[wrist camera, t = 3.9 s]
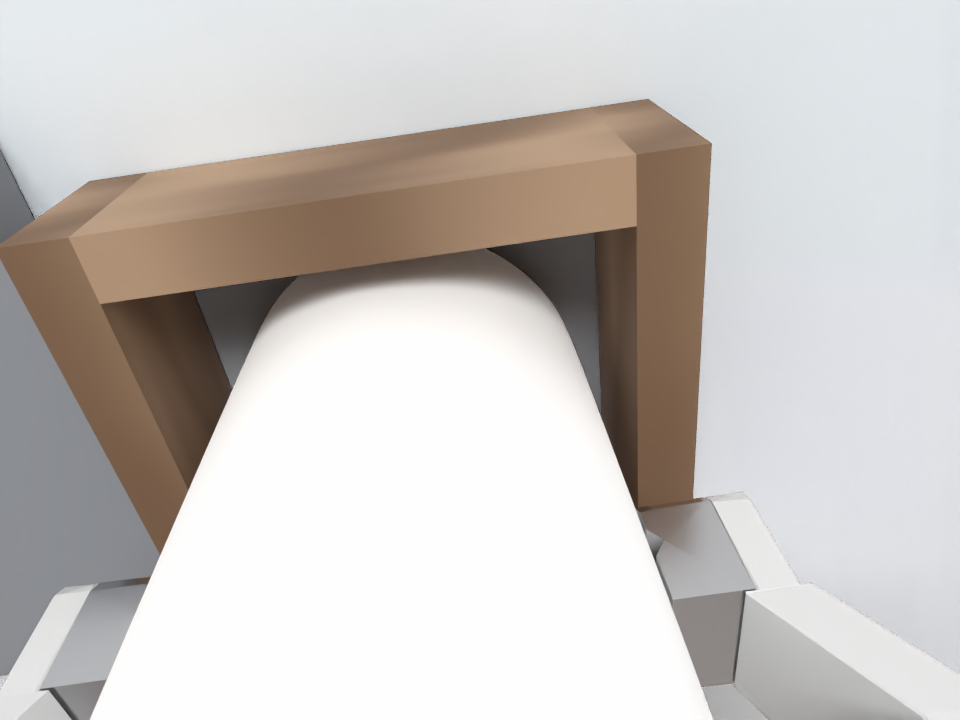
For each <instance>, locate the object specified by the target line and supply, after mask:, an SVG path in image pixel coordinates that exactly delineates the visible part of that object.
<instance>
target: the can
mask: <svg viewBox="0 0 960 720" xmlns="http://www.w3.org/2000/svg"><path fill="white" fill-rule="evenodd" d="M90 720H713V718H712V715H711V712H710V709H709V707H708V704H707V701H706V699H705V696H704V693H703V690H702V688H701V685H700V682H699V680H698V677H697V674H696V671H695V669H694V666H693V663H692V661H691V658H690V655H689V652H688V650H687V647H686V644H685V642H684V639H683V636H682V633H681V631H680V628H679V625H678V622H677V620H676V617H675V614H674V612H673V609H672V606H671V604H670V601H669V598H668V596H667V593H666V590H665V587H664V585H663V582H662V579H661V577H660V574H659V571H658V569H657V566H656V563H655V560H654V558H653V555H652V552H651V550H650V547H649V544H648V542H647V539H646V536H645V534H644V531H643V528H642V525H641V523H640V520H639V517H638V515H637V512H636V509H635V507H634V504H633V501H632V499H631V496H630V493H629V491H628V488H627V485H626V482H625V480H624V477H623V474H622V472H621V469H620V466H619V464H618V461H617V458H616V456H615V453H614V450H613V448H612V445H611V442H610V440H609V437H608V434H607V432H606V429H605V426H604V424H603V421H602V418H601V416H600V413H599V410H598V408H597V405H596V403H595V400H594V397H593V395H592V392H591V389H590V387H589V384H588V381H587V379H586V376H585V373H584V371H583V368H582V366H581V363H580V361H579V358H578V355H577V353H576V350H575V348H574V345H573V343H572V340H571V338H570V336H569V333H568V331H567V329H566V326H565V324H564V322H563V320H562V319H561V317H560V315H559V313H558V311H557V310H556V308H555V307H554V305H553V304H552V302H551V301H550V299H549V298H548V297H547V296H546V294H545V293H544V292H543V291H542V290H541V289H540V287H539V286H538V285H537V284H536V283H535V282H534V281H532V280H531V279H530V278H529V277H528V276H527V275H526V274H524V273H523V272H522V271H521V270H519V269H518V268H517V267H515V266H514V265H512V264H511V263H510V262H508V261H507V260H505V259H503V258H502V257H500V256H498V255H497V254H495V253H493V252H491V251H488V250H486V249H484V248H483V249H476V250H469V251H462V252H456V253H449V254H442V255H435V256H428V257H421V258H414V259H407V260H400V261H394V262H387V263H380V264H373V265H366V266H359V267H352V268H345V269H339V270H332V271H325V272H318V273H311V274H304V275H300V276H299V277H297V278H296V279H295V280H294V281H293V282H292V283H291V284H290V285H289V286H288V287H287V288H286V289H285V290H284V292H283V293H282V294H281V295H280V297H279V298H278V299H277V301H276V302H275V303H274V305H273V306H272V308H271V310H270V311H269V313H268V314H267V316H266V318H265V320H264V322H263V324H262V326H261V328H260V330H259V332H258V334H257V336H256V338H255V340H254V342H253V345H252V347H251V349H250V351H249V354H248V356H247V358H246V360H245V362H244V365H243V367H242V369H241V371H240V374H239V376H238V378H237V380H236V383H235V385H234V387H233V390H232V392H231V394H230V396H229V399H228V401H227V403H226V405H225V408H224V410H223V412H222V415H221V417H220V419H219V421H218V424H217V426H216V428H215V431H214V433H213V435H212V437H211V440H210V442H209V444H208V447H207V449H206V451H205V454H204V456H203V458H202V460H201V463H200V465H199V467H198V470H197V472H196V474H195V477H194V479H193V481H192V483H191V486H190V488H189V490H188V493H187V495H186V497H185V500H184V502H183V504H182V506H181V509H180V511H179V513H178V516H177V518H176V520H175V523H174V525H173V527H172V530H171V532H170V534H169V536H168V539H167V541H166V543H165V546H164V548H163V550H162V553H161V555H160V557H159V560H158V562H157V564H156V567H155V569H154V571H153V574H152V576H151V578H150V580H149V583H148V585H147V587H146V590H145V592H144V594H143V597H142V599H141V601H140V604H139V606H138V608H137V611H136V613H135V615H134V618H133V620H132V622H131V624H130V627H129V629H128V631H127V634H126V636H125V638H124V641H123V643H122V645H121V648H120V650H119V652H118V655H117V657H116V659H115V662H114V664H113V666H112V669H111V671H110V673H109V676H108V678H107V680H106V683H105V685H104V687H103V690H102V692H101V694H100V697H99V699H98V701H97V704H96V706H95V708H94V711H93V713H92V715H91V718H90Z"/></svg>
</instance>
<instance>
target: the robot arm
mask: <svg viewBox="0 0 960 720" xmlns="http://www.w3.org/2000/svg"><path fill="white" fill-rule="evenodd" d="M635 509H636V512H637V515H638V517H639V520H640V523H641V525H642V528H643V531H644V534H645V536H646V539H647V542H648V544H649V547H650V550H651V552H652V555H653V558H654V560H655V563H656V566H657V569H658V571H659V574H660V577H661V579H662V582H663V585H664V587H665V590H666V593H667V596H668V598H669V601H670V604H671V606H672V609H673V612H674V614H675V617H676V620H677V622H678V625H679V628H680V631H681V633H682V636H683V639H684V642H685V644H686V647H687V650H688V652H689V655H690V658H691V661H692V663H693V666H694V669H695V671H696V674H697V677H698V680H699V682H700V685H701V687H704V686H713V685H722V684H731V683H735V684H734V687H735V688H736V689H737V690H738V691H739V692H740V693H742V694H743V695H744V696H745V697H746V698H747V699H748V700H749V701H750V702H751V703H752V704H753V705H754V706H755V707H756V708H757V709H758V710H759V711H761V712H762V713H763V714H764V715H765V716H766V717H767V718H768V719H769V720H960V674H958V673H957V672H955V671H953V670H952V669H950V668H949V667H947V666H945V665H944V664H942V663H940V662H939V661H937V660H936V659H934V658H932V657H931V656H929V655H928V654H926V653H924V652H923V651H921V650H920V649H918V648H916V647H915V646H913V645H911V644H910V643H908V642H907V641H905V640H903V639H902V638H900V637H899V636H897V635H895V634H894V633H892V632H890V631H889V630H887V629H886V628H884V627H882V626H881V625H879V624H878V623H876V622H874V621H873V620H871V619H870V618H868V617H866V616H865V615H863V614H861V613H860V612H858V611H857V610H855V609H853V608H852V607H850V606H849V605H847V604H845V603H844V602H842V601H841V600H839V599H837V598H836V597H834V596H832V595H831V594H829V593H828V592H826V591H824V590H823V589H821V588H820V587H818V586H816V585H815V584H813V583H805V584H800V582H799V581H798V579H797V577H796V576H795V574H794V572H793V571H792V569H791V567H790V566H789V564H788V562H787V561H786V559H785V557H784V555H783V554H782V552H781V550H780V549H779V547H778V545H777V544H776V542H775V540H774V539H773V537H772V535H771V534H770V532H769V530H768V529H767V527H766V525H765V524H764V522H763V520H762V518H761V517H760V515H759V513H758V512H757V510H756V508H755V507H754V505H753V503H752V502H751V500H750V498H749V497H748V496H747V495H746V494H744V493H743V492H737V493H730V494H723V495H717V496H710V497H706V498H696V499H690V500H683V501H677V502H670V503H664V504H657V505H650V506H644V507H637V508H635ZM150 578H151V577H144V578H135V579H126V580H118V581H109V582H101V583H97V584H89V585H80V586H72V587H65V588H64V589H62V590H61V591H60V592H59V593H57V594H56V595H55V596H54V597H53V599H52V600H51V602H50V604H49V606H48V607H47V609H46V611H45V612H44V614H43V616H42V618H41V619H40V621H39V623H38V625H37V626H36V628H35V630H34V632H33V633H32V635H31V637H30V638H29V640H28V642H27V644H26V645H25V647H24V649H23V651H22V652H21V654H20V656H19V658H18V659H17V661H16V663H15V664H14V666H13V668H12V670H11V671H10V673H9V675H8V677H7V678H6V680H5V682H4V684H3V685H2V687H1V689H0V720H90V718H91V715H92V713H93V711H94V708H95V706H96V704H97V701H98V699H99V697H100V694H101V692H102V690H103V687H104V685H105V683H106V680H107V678H108V676H109V673H110V671H111V669H112V666H113V664H114V662H115V659H116V657H117V655H118V652H119V650H120V648H121V645H122V643H123V641H124V638H125V636H126V634H127V631H128V629H129V627H130V624H131V622H132V620H133V618H134V615H135V613H136V611H137V608H138V606H139V604H140V601H141V599H142V597H143V594H144V592H145V590H146V587H147V585H148V583H149V580H150Z"/></svg>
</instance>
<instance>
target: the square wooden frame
mask: <svg viewBox="0 0 960 720" xmlns="http://www.w3.org/2000/svg"><path fill="white" fill-rule="evenodd" d="M711 148H712V143H710V142H709V141H708V140H706V139H705V138H703V137H702V136H700V135H699V134H698V133H696V132H695V131H693V130H692V129H690V128H689V127H688V126H686V125H685V124H683V123H682V122H680V121H679V120H678V119H676V118H675V117H673V116H672V115H670V114H669V113H668V112H666V111H665V110H663V109H662V108H660V107H659V106H657V105H656V104H655V103H653V102H652V101H650V100H649V99H645V100H639V101H632V102H625V103H618V104H611V105H605V106H598V107H591V108H584V109H577V110H571V111H564V112H557V113H550V114H543V115H537V116H530V117H523V118H516V119H509V120H503V121H496V122H489V123H482V124H475V125H469V126H462V127H455V128H448V129H441V130H434V131H428V132H421V133H414V134H407V135H400V136H394V137H387V138H380V139H373V140H366V141H360V142H353V143H346V144H339V145H332V146H326V147H319V148H312V149H305V150H298V151H292V152H285V153H278V154H271V155H264V156H258V157H251V158H244V159H237V160H230V161H223V162H217V163H210V164H203V165H196V166H189V167H183V168H176V169H169V170H162V171H155V172H149V173H142V174H135V175H128V176H121V177H115V178H108V179H101V180H94V181H89V182H88V183H86V184H85V185H83V186H82V187H81V188H79V189H78V190H76V191H75V192H74V193H72V194H71V195H69V196H68V197H66V198H65V199H64V200H62V201H61V202H59V203H58V204H57V205H55V206H54V207H52V208H51V209H49V210H48V211H47V212H45V213H44V214H42V215H41V216H39V217H38V218H37V219H35V220H34V221H32V222H31V223H30V224H28V225H27V226H25V227H24V228H22V229H21V230H20V231H18V232H17V233H15V234H14V235H13V236H11V237H10V238H8V239H7V240H5V241H4V242H3V243H1V244H0V260H1V262H2V263H3V265H4V267H5V269H6V271H7V273H8V275H9V276H10V278H11V280H12V282H13V284H14V286H15V287H16V289H17V291H18V293H19V295H20V297H21V299H22V300H23V302H24V304H25V306H26V308H27V310H28V311H29V313H30V315H31V317H32V319H33V321H34V323H35V324H36V326H37V328H38V330H39V332H40V334H41V336H42V337H43V339H44V341H45V343H46V345H47V347H48V348H49V350H50V352H51V354H52V356H53V358H54V360H55V361H56V363H57V365H58V367H59V369H60V371H61V373H62V374H63V376H64V378H65V380H66V382H67V384H68V385H69V387H70V389H71V391H72V393H73V395H74V397H75V398H76V400H77V402H78V404H79V406H80V408H81V410H82V411H83V413H84V415H85V417H86V419H87V421H88V422H89V424H90V426H91V428H92V430H93V432H94V434H95V435H96V437H97V439H98V441H99V443H100V445H101V446H102V448H103V450H104V452H105V454H106V456H107V458H108V459H109V461H110V463H111V465H112V467H113V469H114V471H115V472H116V474H117V476H118V478H119V480H120V482H121V483H122V485H123V487H124V489H125V491H126V493H127V495H128V496H129V498H130V500H131V502H132V504H133V506H134V508H135V509H136V511H137V513H138V515H139V517H140V519H141V520H142V522H143V524H144V526H145V528H146V530H147V532H148V533H149V535H150V537H151V539H152V541H153V543H154V545H155V546H156V548H157V550H158V552H159V554H160V555H161V553H162V550H163V548H164V546H165V543H166V541H167V539H168V536H169V534H170V532H171V530H172V527H173V525H174V523H175V520H176V518H177V516H178V513H179V511H180V509H181V506H182V504H183V502H184V500H185V497H186V495H187V493H188V490H189V488H190V486H191V483H192V481H193V479H194V477H195V474H196V472H197V470H198V467H199V465H200V463H201V460H202V458H203V456H204V454H205V451H206V449H207V447H208V444H209V442H210V440H211V437H212V435H213V433H214V431H215V428H216V426H217V424H218V421H219V419H220V417H221V415H222V412H223V410H224V408H225V405H226V403H227V401H228V399H229V396H230V394H231V392H232V389H231V387H230V384H229V381H228V379H227V376H226V374H225V371H224V369H223V366H222V363H221V361H220V358H219V356H218V353H217V351H216V348H215V345H214V343H213V340H212V338H211V335H210V333H209V330H208V327H207V325H206V322H205V320H204V317H203V315H202V312H201V309H200V307H199V304H198V302H197V299H196V296H195V294H194V290H201V289H208V288H215V287H221V286H228V285H235V284H242V283H249V282H256V281H263V280H270V279H277V278H283V277H290V276H297V275H304V274H311V273H318V272H325V271H332V270H339V269H345V268H352V267H359V266H366V265H373V264H380V263H387V262H394V261H400V260H407V259H414V258H421V257H428V256H435V255H442V254H449V253H456V252H462V251H469V250H476V249H483V248H490V247H497V246H504V245H511V244H518V243H524V242H531V241H538V240H545V239H552V238H559V237H566V236H573V235H579V234H586V233H593V232H595V254H596V280H597V305H598V331H599V356H600V381H601V407H602V421H603V424H604V426H605V429H606V432H607V434H608V437H609V440H610V442H611V445H612V448H613V450H614V453H615V456H616V458H617V461H618V464H619V466H620V469H621V472H622V474H623V477H624V480H625V482H626V485H627V488H628V491H629V493H630V496H631V499H632V501H633V504H634V507H635V508H637V507H644V506H650V505H657V504H664V503H670V502H677V501H683V500H690V499H693V486H694V467H695V449H696V430H697V411H698V392H699V373H700V355H701V336H702V317H703V298H704V279H705V260H706V242H707V223H708V204H709V185H710V166H711Z"/></svg>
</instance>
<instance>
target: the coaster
mask: <svg viewBox="0 0 960 720" xmlns="http://www.w3.org/2000/svg"><path fill="white" fill-rule="evenodd" d="M32 221H34V218H33V216H32V214H31V212H30V210H29V208H28V206H27V204H26V202H25V200H24V198H23V196H22V194H21V192H20V190H19V188H18V186H17V184H16V182H15V180H14V178H13V176H12V174H11V172H10V169H9V167H8V165H7V163H6V161H5V159H4V157H3V155H2V153H1V151H0V244H1V243H3V242H4V241H5V240H7V239H8V238H10V237H11V236H13V235H14V234H15V233H17V232H18V231H20V230H21V229H22V228H24V227H25V226H27V225H28V224H30V223H31V222H32ZM159 557H160V554H159V552H158V550H157V548H156V546H155V545H154V543H153V541H152V539H151V537H150V535H149V533H148V532H147V530H146V528H145V526H144V524H143V522H142V520H141V519H140V517H139V515H138V513H137V511H136V509H135V508H134V506H133V504H132V502H131V500H130V498H129V496H128V495H127V493H126V491H125V489H124V487H123V485H122V483H121V482H120V480H119V478H118V476H117V474H116V472H115V471H114V469H113V467H112V465H111V463H110V461H109V459H108V458H107V456H106V454H105V452H104V450H103V448H102V446H101V445H100V443H99V441H98V439H97V437H96V435H95V434H94V432H93V430H92V428H91V426H90V424H89V422H88V421H87V419H86V417H85V415H84V413H83V411H82V410H81V408H80V406H79V404H78V402H77V400H76V398H75V397H74V395H73V393H72V391H71V389H70V387H69V385H68V384H67V382H66V380H65V378H64V376H63V374H62V373H61V371H60V369H59V367H58V365H57V363H56V361H55V360H54V358H53V356H52V354H51V352H50V350H49V348H48V347H47V345H46V343H45V341H44V339H43V337H42V336H41V334H40V332H39V330H38V328H37V326H36V324H35V323H34V321H33V319H32V317H31V315H30V313H29V311H28V310H27V308H26V306H25V304H24V302H23V300H22V299H21V297H20V295H19V293H18V291H17V289H16V287H15V286H14V284H13V282H12V280H11V278H10V276H9V275H8V273H7V271H6V269H5V267H4V265H3V263H2V262H1V260H0V676H1V675H8V674H9V673H10V671H11V670H12V668H13V666H14V664H15V663H16V661H17V659H18V658H19V656H20V654H21V652H22V651H23V649H24V647H25V645H26V644H27V642H28V640H29V638H30V637H31V635H32V633H33V632H34V630H35V628H36V626H37V625H38V623H39V621H40V619H41V618H42V616H43V614H44V612H45V611H46V609H47V607H48V606H49V604H50V602H51V600H52V599H53V597H54V596H55V595H56V594H57V593H59V592H60V591H61V590H62V589H64V588H65V587H72V586H80V585H89V584H97V583H101V582H109V581H118V580H126V579H135V578H144V577H151V576H152V574H153V571H154V569H155V567H156V564H157V562H158V560H159Z"/></svg>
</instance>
